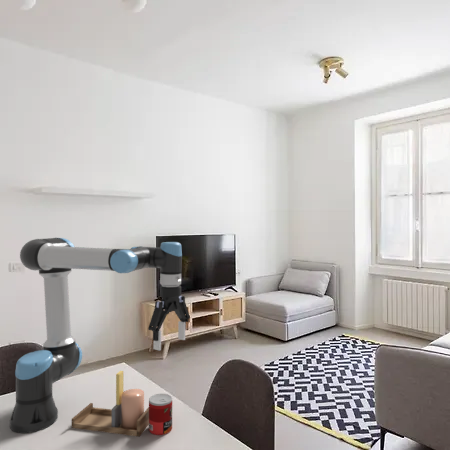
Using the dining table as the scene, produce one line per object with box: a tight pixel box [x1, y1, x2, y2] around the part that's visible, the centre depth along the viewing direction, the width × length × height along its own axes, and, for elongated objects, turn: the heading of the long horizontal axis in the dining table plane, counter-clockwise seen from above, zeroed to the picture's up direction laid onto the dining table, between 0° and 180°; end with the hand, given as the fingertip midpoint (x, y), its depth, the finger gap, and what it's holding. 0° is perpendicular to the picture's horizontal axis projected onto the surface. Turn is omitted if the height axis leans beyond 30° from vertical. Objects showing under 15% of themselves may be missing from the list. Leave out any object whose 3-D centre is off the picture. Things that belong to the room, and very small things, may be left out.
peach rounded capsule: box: [121, 388, 145, 430], centre depth 130 cm, size 8×8×11 cm
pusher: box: [111, 370, 124, 428], centre depth 131 cm, size 1×9×18 cm, turn 168°
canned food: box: [148, 393, 173, 436], centre depth 128 cm, size 8×8×11 cm
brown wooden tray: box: [71, 402, 149, 438], centre depth 131 cm, size 25×12×6 cm, turn 78°
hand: (169, 344), depth 135 cm, fingers open, 13 cm apart
